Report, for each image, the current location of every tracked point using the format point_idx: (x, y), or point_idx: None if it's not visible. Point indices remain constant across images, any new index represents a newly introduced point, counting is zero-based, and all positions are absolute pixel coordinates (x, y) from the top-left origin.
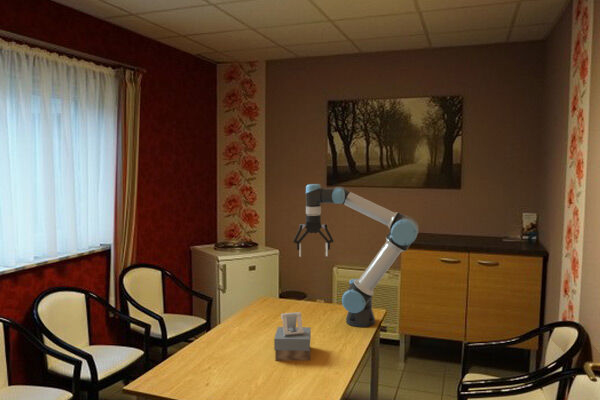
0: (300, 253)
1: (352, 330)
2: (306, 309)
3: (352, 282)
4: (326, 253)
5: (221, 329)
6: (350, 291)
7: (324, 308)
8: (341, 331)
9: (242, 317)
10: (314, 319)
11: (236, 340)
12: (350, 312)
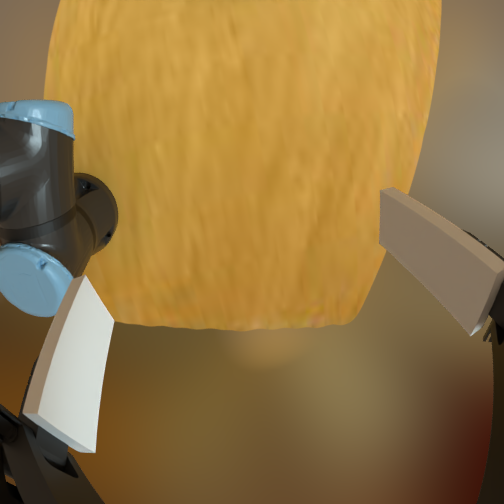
0: (408, 204)
1: (85, 141)
2: (252, 277)
3: (37, 251)
4: (73, 299)
5: (423, 101)
6: (12, 110)
7: (205, 296)
8: (112, 122)
9: (397, 184)
10: (213, 203)
11: (382, 29)
12: (89, 202)
